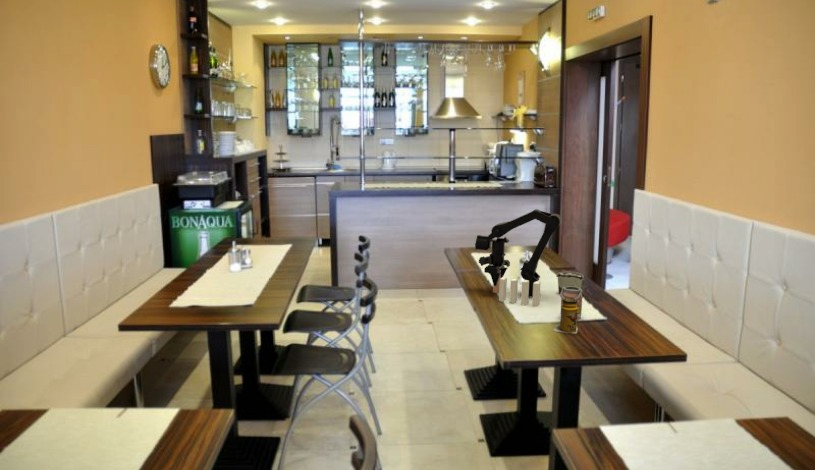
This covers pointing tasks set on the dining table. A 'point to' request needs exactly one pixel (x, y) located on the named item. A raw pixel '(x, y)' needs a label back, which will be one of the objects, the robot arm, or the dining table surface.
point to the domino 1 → (496, 288)
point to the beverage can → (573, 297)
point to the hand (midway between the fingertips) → (496, 284)
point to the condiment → (568, 317)
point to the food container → (569, 280)
